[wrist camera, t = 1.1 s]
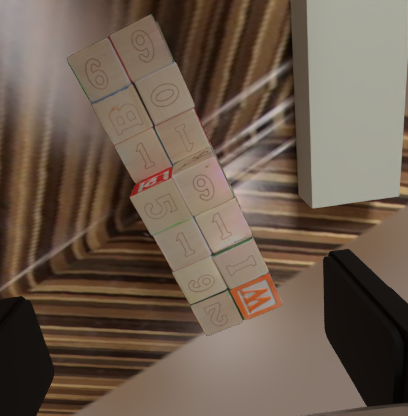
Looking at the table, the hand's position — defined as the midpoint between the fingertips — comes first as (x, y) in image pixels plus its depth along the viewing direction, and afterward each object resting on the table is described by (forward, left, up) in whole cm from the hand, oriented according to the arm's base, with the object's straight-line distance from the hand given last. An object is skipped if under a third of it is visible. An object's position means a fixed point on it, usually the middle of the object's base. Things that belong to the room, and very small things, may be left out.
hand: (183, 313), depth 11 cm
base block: (-4, +15, -24) cm, 28 cm away
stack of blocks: (0, 0, -24) cm, 24 cm away
